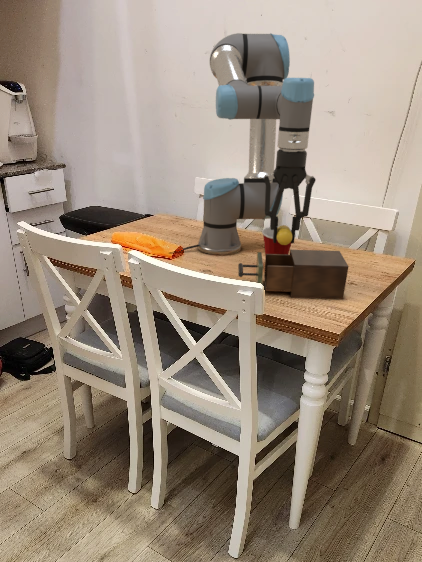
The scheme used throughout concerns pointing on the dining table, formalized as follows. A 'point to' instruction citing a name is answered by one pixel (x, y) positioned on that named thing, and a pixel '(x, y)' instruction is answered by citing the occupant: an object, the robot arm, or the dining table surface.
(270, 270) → the drawer
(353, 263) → the dining table surface
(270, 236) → the plastic cup
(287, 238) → the yellow oval piece
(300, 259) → the cabinet
